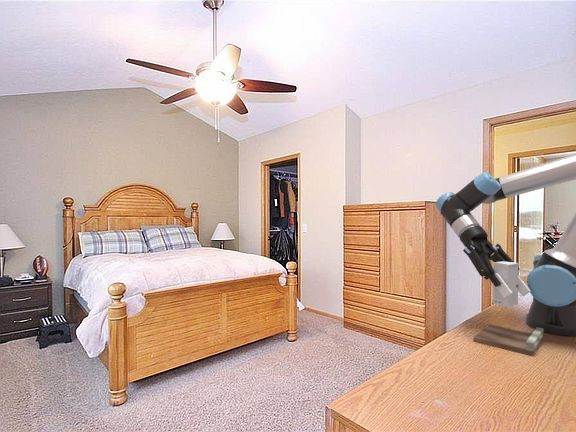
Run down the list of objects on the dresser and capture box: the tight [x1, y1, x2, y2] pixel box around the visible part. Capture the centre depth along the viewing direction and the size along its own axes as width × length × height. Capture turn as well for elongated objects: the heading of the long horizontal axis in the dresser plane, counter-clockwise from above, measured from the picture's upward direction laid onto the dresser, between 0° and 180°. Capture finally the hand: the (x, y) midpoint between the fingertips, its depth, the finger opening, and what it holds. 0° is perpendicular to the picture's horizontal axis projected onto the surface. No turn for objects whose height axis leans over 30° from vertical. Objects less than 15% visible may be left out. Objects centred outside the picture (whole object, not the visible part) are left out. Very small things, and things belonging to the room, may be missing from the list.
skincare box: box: [492, 261, 519, 308], centre depth 100 cm, size 6×4×12 cm
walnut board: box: [473, 324, 544, 357], centre depth 100 cm, size 16×14×3 cm
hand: (517, 294), depth 97 cm, fingers closed on skincare box, 6 cm apart
